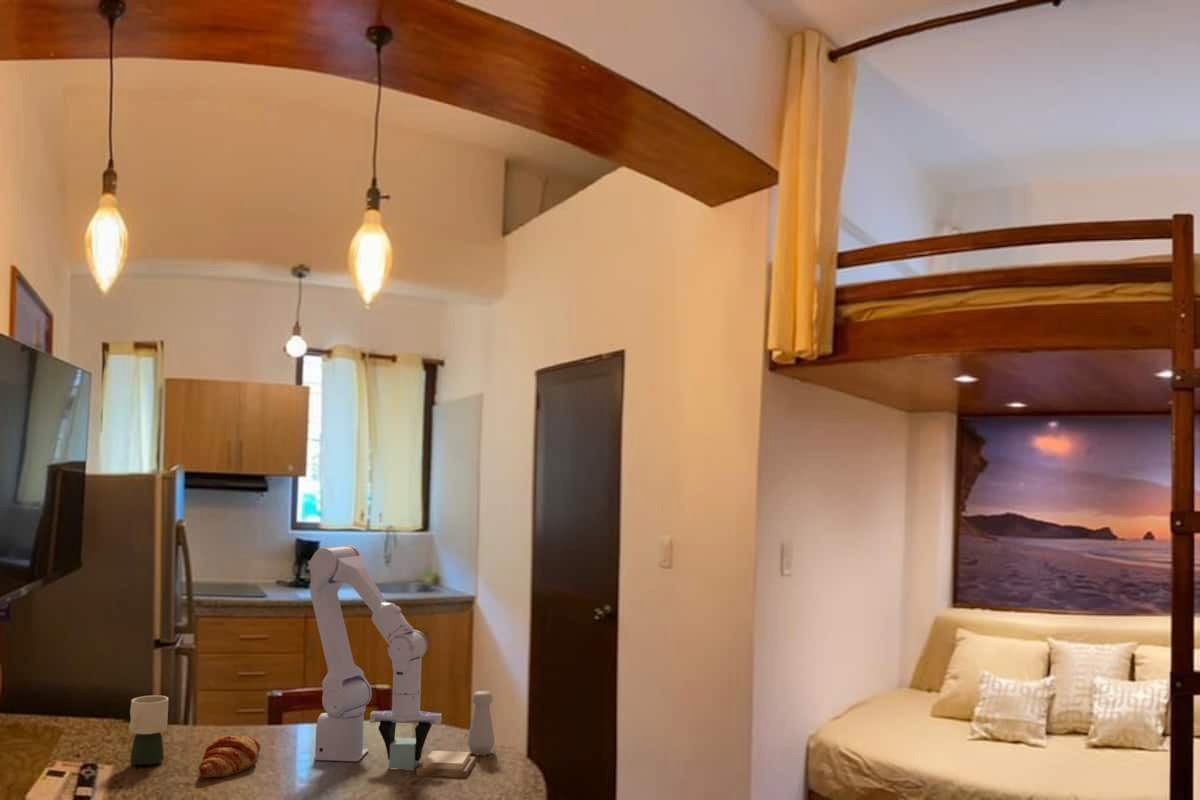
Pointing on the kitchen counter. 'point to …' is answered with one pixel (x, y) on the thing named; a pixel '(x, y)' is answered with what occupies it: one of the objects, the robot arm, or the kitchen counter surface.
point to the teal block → (403, 753)
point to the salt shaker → (481, 725)
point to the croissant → (229, 756)
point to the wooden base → (446, 764)
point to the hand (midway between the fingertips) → (404, 758)
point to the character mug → (148, 728)
